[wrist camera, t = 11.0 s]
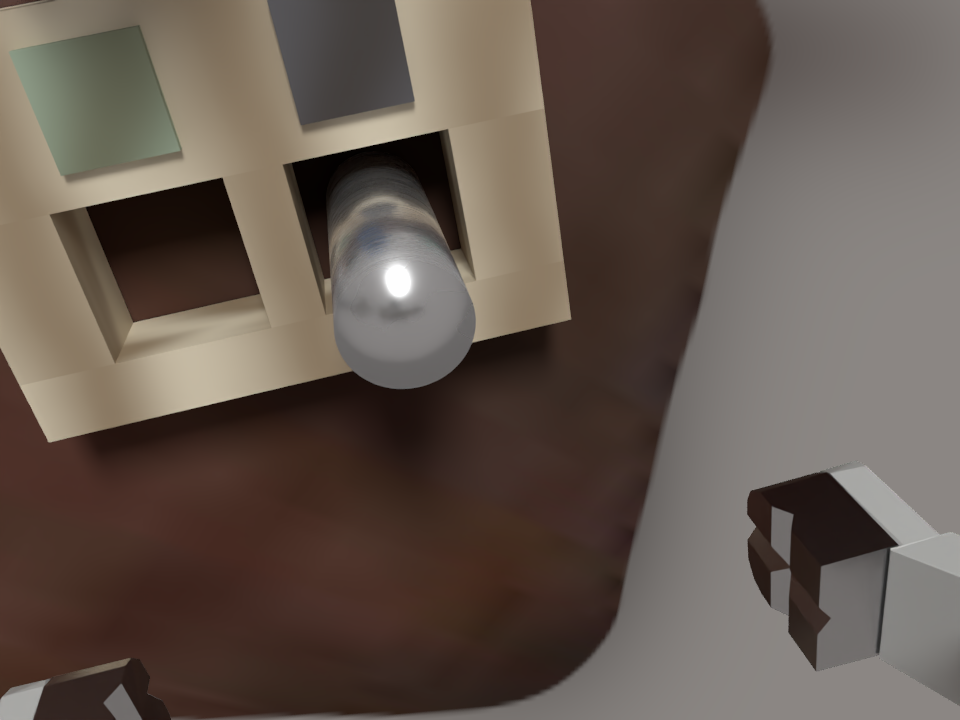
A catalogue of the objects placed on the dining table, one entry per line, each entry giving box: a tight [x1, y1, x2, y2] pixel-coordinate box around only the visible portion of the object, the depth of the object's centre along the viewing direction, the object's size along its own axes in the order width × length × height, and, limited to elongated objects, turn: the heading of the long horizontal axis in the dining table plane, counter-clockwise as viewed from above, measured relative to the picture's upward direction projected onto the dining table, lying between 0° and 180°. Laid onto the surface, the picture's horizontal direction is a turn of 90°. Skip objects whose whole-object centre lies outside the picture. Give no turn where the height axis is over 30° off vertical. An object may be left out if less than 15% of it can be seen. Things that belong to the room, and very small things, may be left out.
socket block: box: [0, 0, 571, 442], centre depth 25 cm, size 17×12×3 cm
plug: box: [326, 151, 476, 389], centre depth 23 cm, size 3×3×10 cm
